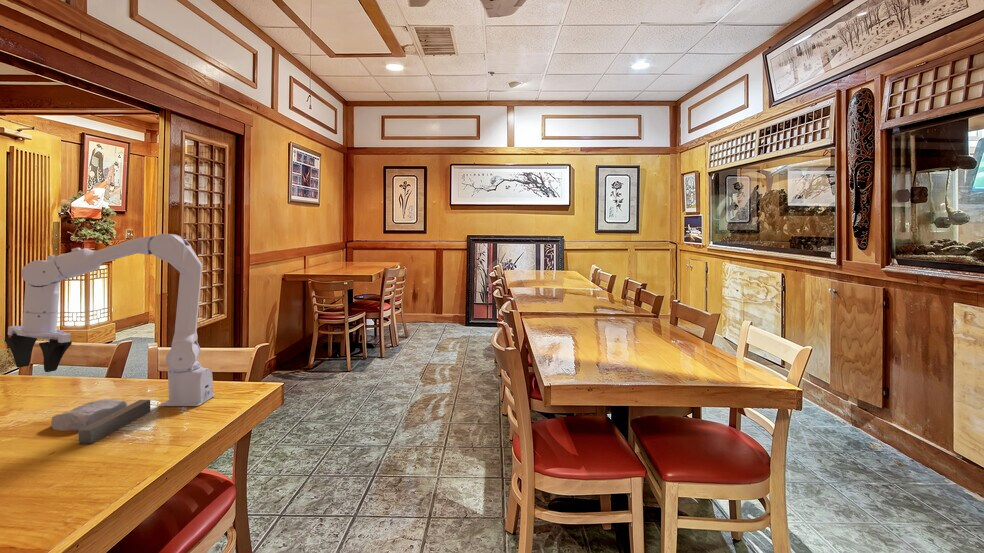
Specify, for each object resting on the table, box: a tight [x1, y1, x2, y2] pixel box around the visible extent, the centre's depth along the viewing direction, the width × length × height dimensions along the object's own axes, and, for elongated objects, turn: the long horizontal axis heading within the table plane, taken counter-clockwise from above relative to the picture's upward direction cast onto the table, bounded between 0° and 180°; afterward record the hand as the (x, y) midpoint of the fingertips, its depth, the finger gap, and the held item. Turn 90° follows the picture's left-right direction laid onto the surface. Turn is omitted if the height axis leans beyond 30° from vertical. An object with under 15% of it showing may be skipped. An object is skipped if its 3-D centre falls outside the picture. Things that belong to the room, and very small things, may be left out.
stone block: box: [50, 398, 128, 431], centre depth 107 cm, size 12×5×10 cm
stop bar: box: [77, 399, 152, 445], centre depth 104 cm, size 2×18×3 cm, turn 3°
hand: (36, 368), depth 107 cm, fingers open, 7 cm apart
